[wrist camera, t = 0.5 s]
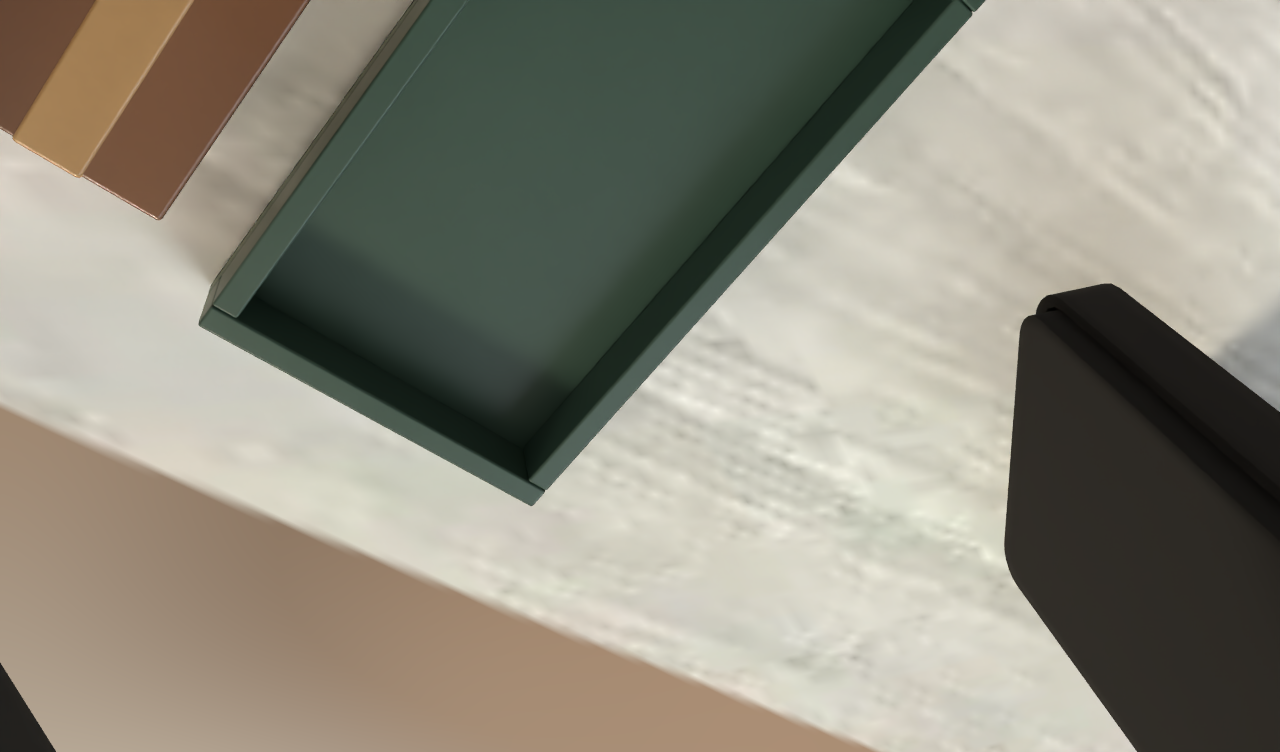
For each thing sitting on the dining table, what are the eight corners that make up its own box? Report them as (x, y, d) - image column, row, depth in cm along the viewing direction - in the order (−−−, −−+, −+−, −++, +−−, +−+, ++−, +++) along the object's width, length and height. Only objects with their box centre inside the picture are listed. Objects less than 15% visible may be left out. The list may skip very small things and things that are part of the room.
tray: (657, -344, 21) (681, -350, 19) (955, -27, 25) (995, -9, 23) (210, 286, 25) (196, 326, 23) (524, 463, 29) (532, 508, 28)
